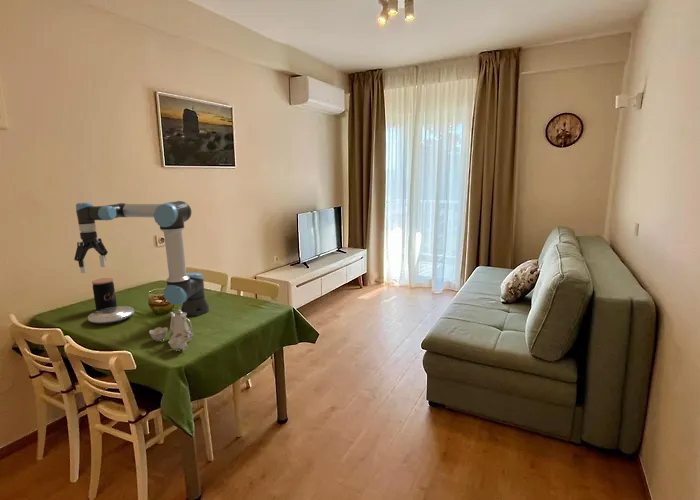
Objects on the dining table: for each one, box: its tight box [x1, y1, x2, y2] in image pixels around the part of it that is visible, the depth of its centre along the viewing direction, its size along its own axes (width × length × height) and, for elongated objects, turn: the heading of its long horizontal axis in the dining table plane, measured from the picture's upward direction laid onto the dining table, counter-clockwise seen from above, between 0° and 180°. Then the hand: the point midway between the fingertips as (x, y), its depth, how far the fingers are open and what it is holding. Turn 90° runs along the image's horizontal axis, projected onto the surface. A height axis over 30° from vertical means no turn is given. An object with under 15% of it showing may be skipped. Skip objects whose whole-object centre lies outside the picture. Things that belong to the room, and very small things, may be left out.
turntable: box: [87, 305, 135, 324], centre depth 217 cm, size 22×22×2 cm
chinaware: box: [148, 309, 195, 352], centre depth 186 cm, size 28×17×17 cm, turn 58°
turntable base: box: [95, 317, 129, 326], centre depth 217 cm, size 16×16×2 cm
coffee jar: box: [91, 277, 117, 311], centre depth 231 cm, size 11×11×18 cm
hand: (93, 269), depth 214 cm, fingers open, 13 cm apart
